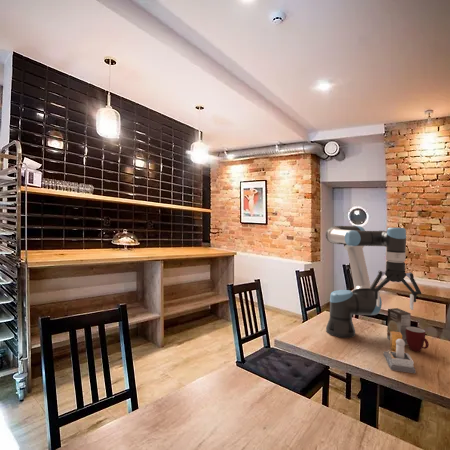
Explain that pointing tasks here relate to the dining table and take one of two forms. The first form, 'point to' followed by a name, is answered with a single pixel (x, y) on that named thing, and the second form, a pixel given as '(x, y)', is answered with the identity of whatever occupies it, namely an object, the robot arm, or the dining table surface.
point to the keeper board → (411, 370)
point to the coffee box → (398, 322)
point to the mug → (416, 338)
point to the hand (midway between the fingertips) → (394, 307)
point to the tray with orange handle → (392, 358)
